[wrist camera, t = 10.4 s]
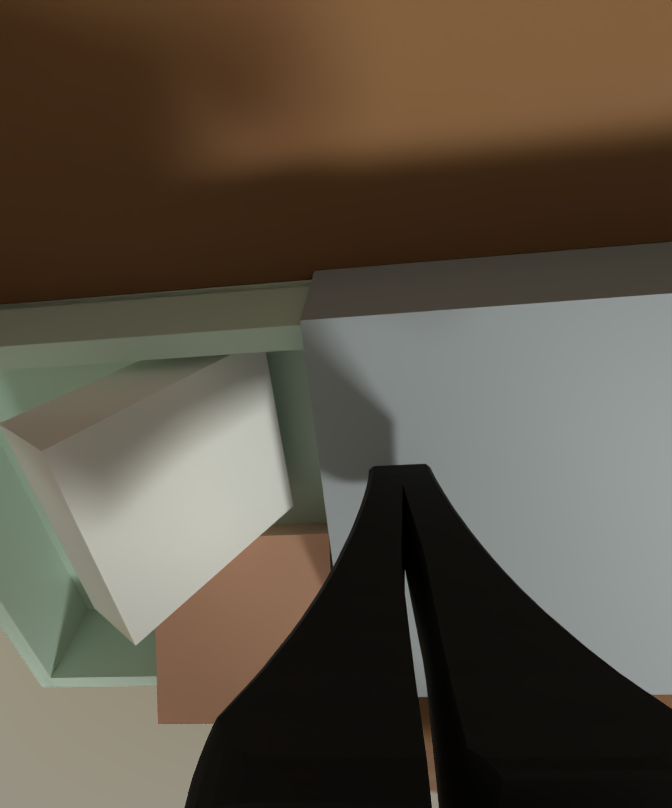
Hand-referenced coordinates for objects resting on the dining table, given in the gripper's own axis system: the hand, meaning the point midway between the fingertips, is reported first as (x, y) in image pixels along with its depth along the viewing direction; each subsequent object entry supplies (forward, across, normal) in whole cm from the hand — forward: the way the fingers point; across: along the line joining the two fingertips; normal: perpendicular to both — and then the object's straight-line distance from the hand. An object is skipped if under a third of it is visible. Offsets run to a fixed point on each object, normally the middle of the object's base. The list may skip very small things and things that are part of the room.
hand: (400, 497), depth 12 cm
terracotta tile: (+3, +5, +7) cm, 9 cm away
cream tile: (+1, +5, 0) cm, 5 cm away
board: (+5, -6, +3) cm, 8 cm away
